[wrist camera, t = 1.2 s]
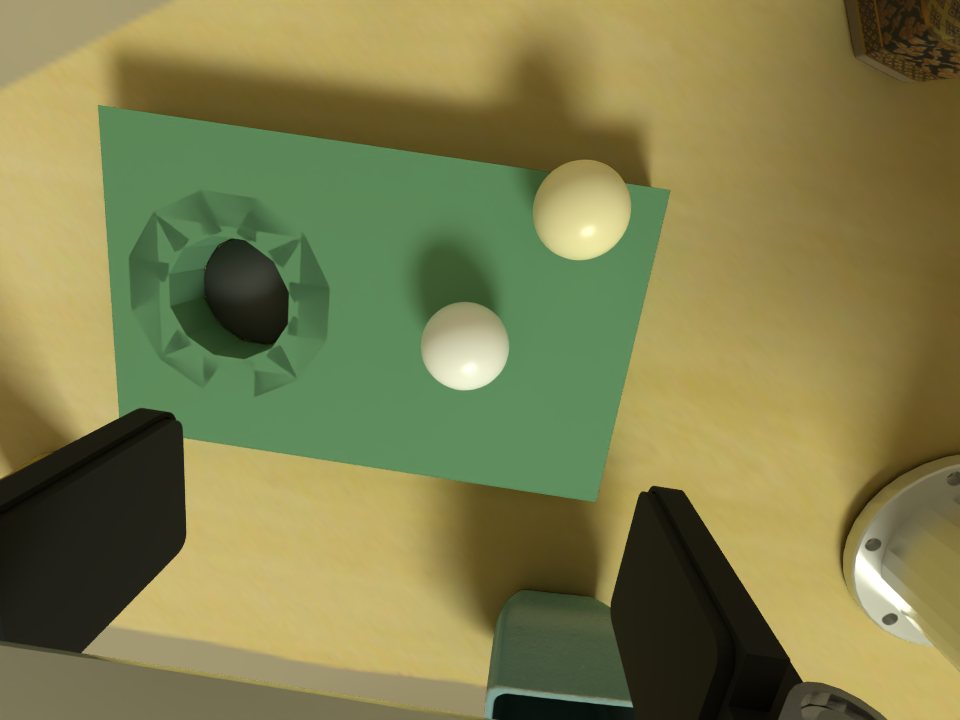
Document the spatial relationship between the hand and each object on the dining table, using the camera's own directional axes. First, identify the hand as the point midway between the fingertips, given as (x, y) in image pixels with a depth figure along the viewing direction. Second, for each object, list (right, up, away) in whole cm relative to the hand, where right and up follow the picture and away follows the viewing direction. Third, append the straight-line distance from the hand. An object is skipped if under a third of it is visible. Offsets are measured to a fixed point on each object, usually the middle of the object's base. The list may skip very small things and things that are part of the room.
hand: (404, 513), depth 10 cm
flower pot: (+6, -14, +23) cm, 28 cm away
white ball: (+1, +4, +13) cm, 13 cm away
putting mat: (-4, +6, +17) cm, 19 cm away
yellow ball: (+6, +9, +11) cm, 15 cm away
